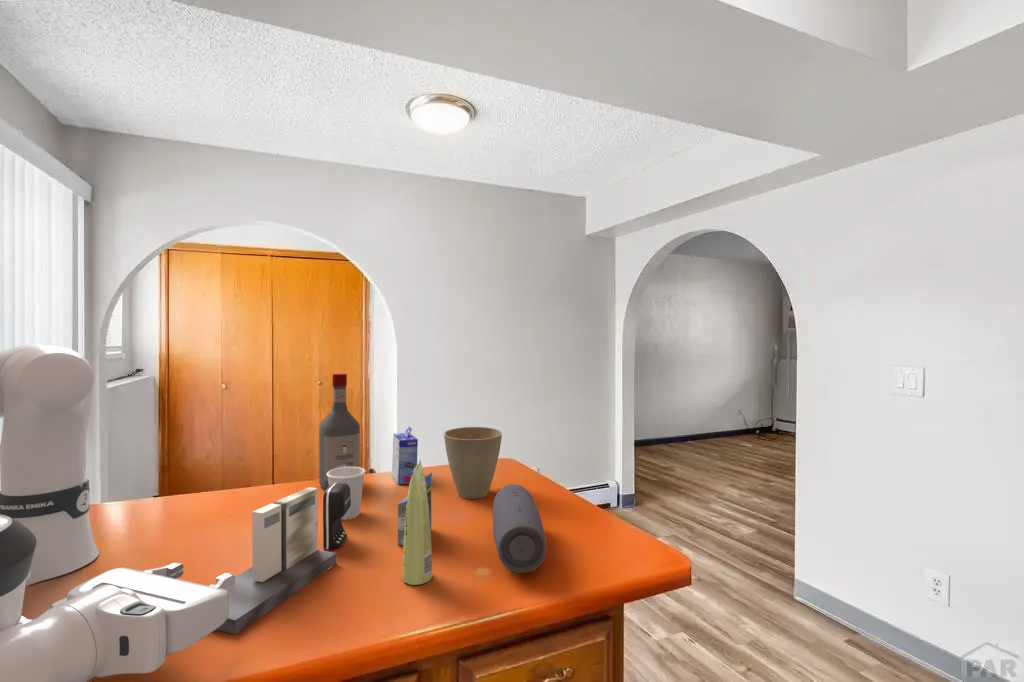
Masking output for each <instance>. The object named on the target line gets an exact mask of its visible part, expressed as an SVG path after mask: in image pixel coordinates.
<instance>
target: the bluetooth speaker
mask: <svg viewBox="0 0 1024 682" xmlns="http://www.w3.org/2000/svg"><path fill="white" fill-rule="evenodd" d="M542 521H543V519H542V517H541V515H540V511H539V509H538V507H537V504H536V502H535V500H534V498H533V496H532V494H531V493H530V492H529V491H528V489H526V488H525V487H524V486H522V485H519V484H515V483H512V484H506V485H505V486H503V487H502V488H500V489H499V491H498V492H497V493H496V495H495V497H494V498H493V504H492V527H493V529H492V530H493V539H494V542H495V546H496V547H495V548H496V552H497V555H498V558H499V560H500V561H501V563H502V565H503V566H504V568H506V569H507V570H509V571H511V572H513V573H515V574H516V573H517V574H525V573H531V572H533V571H534V570H536V569H538V568H539V567H540V566H541V565H542V563H543V562H544V560H545V557H546V554H547V540H546V535H545V530H544V525H543V522H542Z"/></svg>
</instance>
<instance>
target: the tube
mask: <svg viewBox="0 0 1024 682" xmlns="http://www.w3.org/2000/svg"><path fill="white" fill-rule="evenodd" d="M425 477H426V476H425V472H424V467H423V464H422V460H421V459H420V460H419V461H418V462H417V466H416V467H415V469H414V471H413V475H412V478H411V481H410V484H409V487H408V491H407V497H408V498H407V506H406V515H405V528H404V546H402V547H403V549H402V550H403V551H402V556H403V557H402V581H403V582H405V584H408V585H411V586H418V585H423V584H425V583H427V582H429V581H430V580H431V579H432V577H433V566H432V565H433V564H432V563H433V562H432V561H433V559H432V557H433V556H432V539H431V537H432V536H431V534H432V533H431V530H430V518H429V508H428V499H427V491H426V483H425Z"/></svg>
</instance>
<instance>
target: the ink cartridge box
mask: <svg viewBox="0 0 1024 682" xmlns="http://www.w3.org/2000/svg"><path fill="white" fill-rule="evenodd" d="M412 430H413V429H412V427H410V426H408V427H407V429H406V430H405V431H404V433H403V432H402V433H393V435H392V458H391V460H392V461H391V476H392V478H393V479H394V481H395V482H396V483H397V485H406V484H407V485H408V484H409V485H410V481H411V478H412V475H413V471H414V469H415V467H416V466H417V464H418V442H419V441H418V440H419V439H418V438H417V437H415V436H414V435H413V434H412V433H411V432H412Z"/></svg>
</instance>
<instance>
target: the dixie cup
mask: <svg viewBox="0 0 1024 682" xmlns="http://www.w3.org/2000/svg"><path fill="white" fill-rule="evenodd" d="M365 474H366V469H364V468H363V467H340V468H336V469H332V470H330V471H328V472H327V476H328V482H329V486H330V485H331V484H333V483H345V484H348V485H349V487H350V494H351V506H350V508H349V509H348V511H347V512H346V514H345V515H344V516H343V517H342V521H348V520H347V519H349V520H353V519H356V518H358V517H359V516H360V511H361V510H360V509H361V504H362V496H363V495H362V494H363V487H364V479H365ZM357 516H358V517H357ZM355 517H356V518H355ZM352 518H353V519H352Z"/></svg>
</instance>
